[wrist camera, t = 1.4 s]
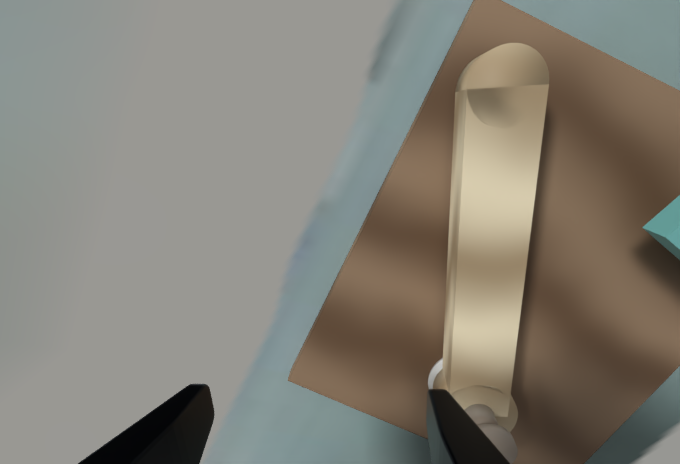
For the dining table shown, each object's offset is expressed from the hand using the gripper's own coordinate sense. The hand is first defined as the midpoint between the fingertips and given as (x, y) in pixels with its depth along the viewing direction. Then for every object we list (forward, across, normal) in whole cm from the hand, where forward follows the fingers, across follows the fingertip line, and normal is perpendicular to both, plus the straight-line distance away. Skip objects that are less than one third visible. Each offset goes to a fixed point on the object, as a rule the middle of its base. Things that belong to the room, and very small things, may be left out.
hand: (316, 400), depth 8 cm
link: (+11, -7, +1) cm, 13 cm away
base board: (+12, -10, +3) cm, 16 cm away
